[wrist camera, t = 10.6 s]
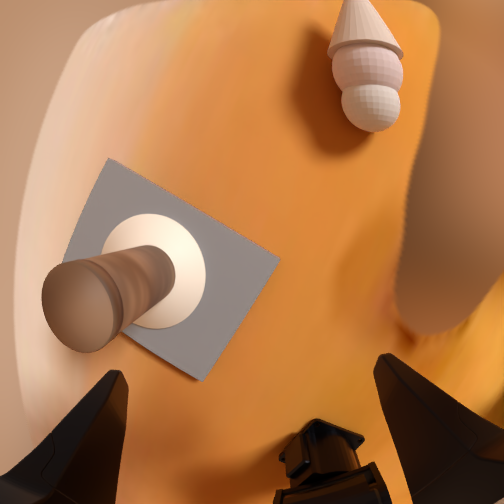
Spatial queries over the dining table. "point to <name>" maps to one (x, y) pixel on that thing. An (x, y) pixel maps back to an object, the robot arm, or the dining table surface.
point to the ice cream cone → (366, 66)
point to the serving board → (175, 266)
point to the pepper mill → (104, 294)
